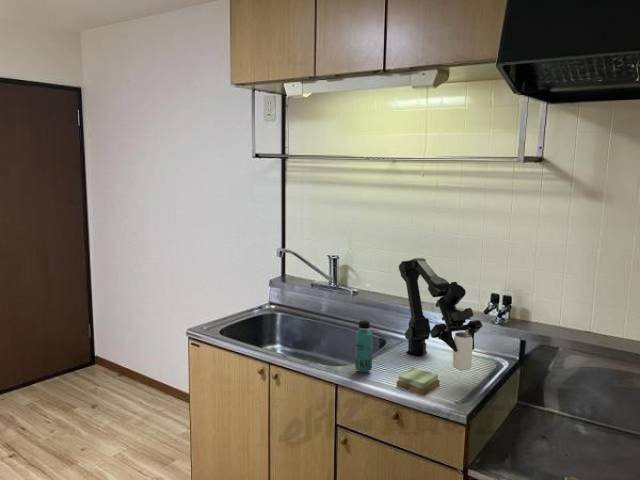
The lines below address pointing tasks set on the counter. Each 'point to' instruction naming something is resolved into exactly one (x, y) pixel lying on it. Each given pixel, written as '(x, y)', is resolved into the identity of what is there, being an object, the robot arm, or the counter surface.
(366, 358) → the beverage bottle
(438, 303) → the robot arm
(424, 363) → the counter surface
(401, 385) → the tower base
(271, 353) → the counter surface
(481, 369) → the counter surface
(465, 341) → the can
